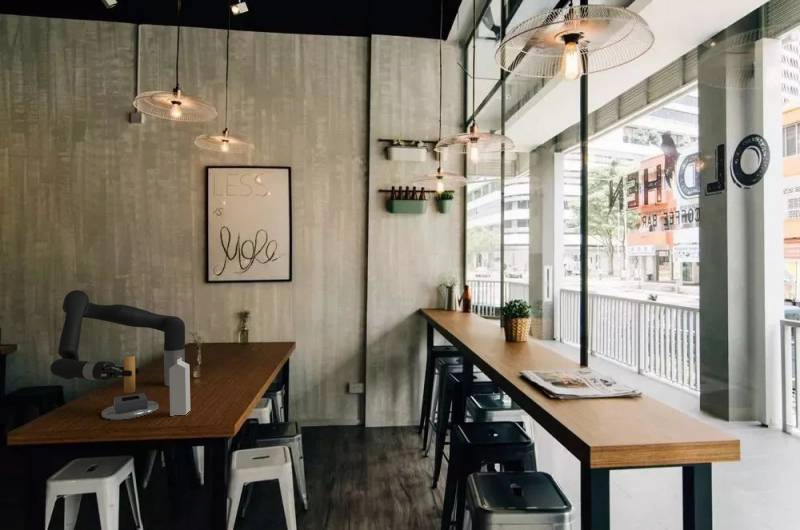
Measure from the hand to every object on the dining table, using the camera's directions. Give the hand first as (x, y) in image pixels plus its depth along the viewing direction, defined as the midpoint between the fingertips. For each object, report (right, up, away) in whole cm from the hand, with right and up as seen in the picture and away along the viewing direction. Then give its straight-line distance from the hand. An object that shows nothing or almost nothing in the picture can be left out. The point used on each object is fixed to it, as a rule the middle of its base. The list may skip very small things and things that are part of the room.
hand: (135, 372), depth 191 cm
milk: (+19, -16, -3) cm, 25 cm away
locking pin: (-3, -8, +1) cm, 8 cm away
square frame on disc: (-2, -16, +1) cm, 16 cm away
